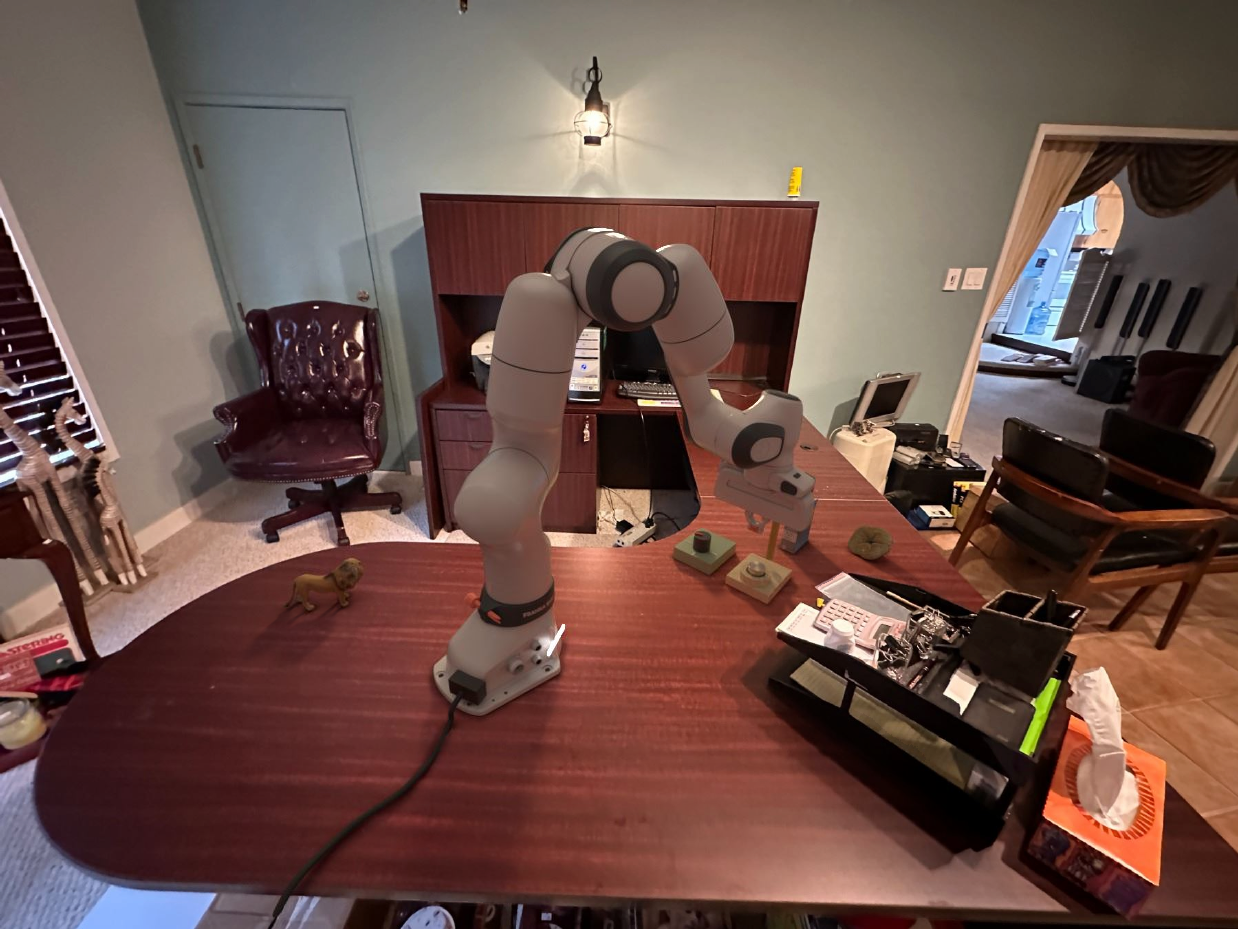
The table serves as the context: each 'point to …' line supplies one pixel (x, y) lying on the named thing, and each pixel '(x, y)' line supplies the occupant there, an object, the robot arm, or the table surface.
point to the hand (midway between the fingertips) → (755, 531)
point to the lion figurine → (328, 583)
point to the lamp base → (759, 578)
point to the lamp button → (756, 569)
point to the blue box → (794, 537)
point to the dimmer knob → (702, 541)
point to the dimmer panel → (705, 561)
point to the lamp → (775, 535)
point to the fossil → (870, 542)
